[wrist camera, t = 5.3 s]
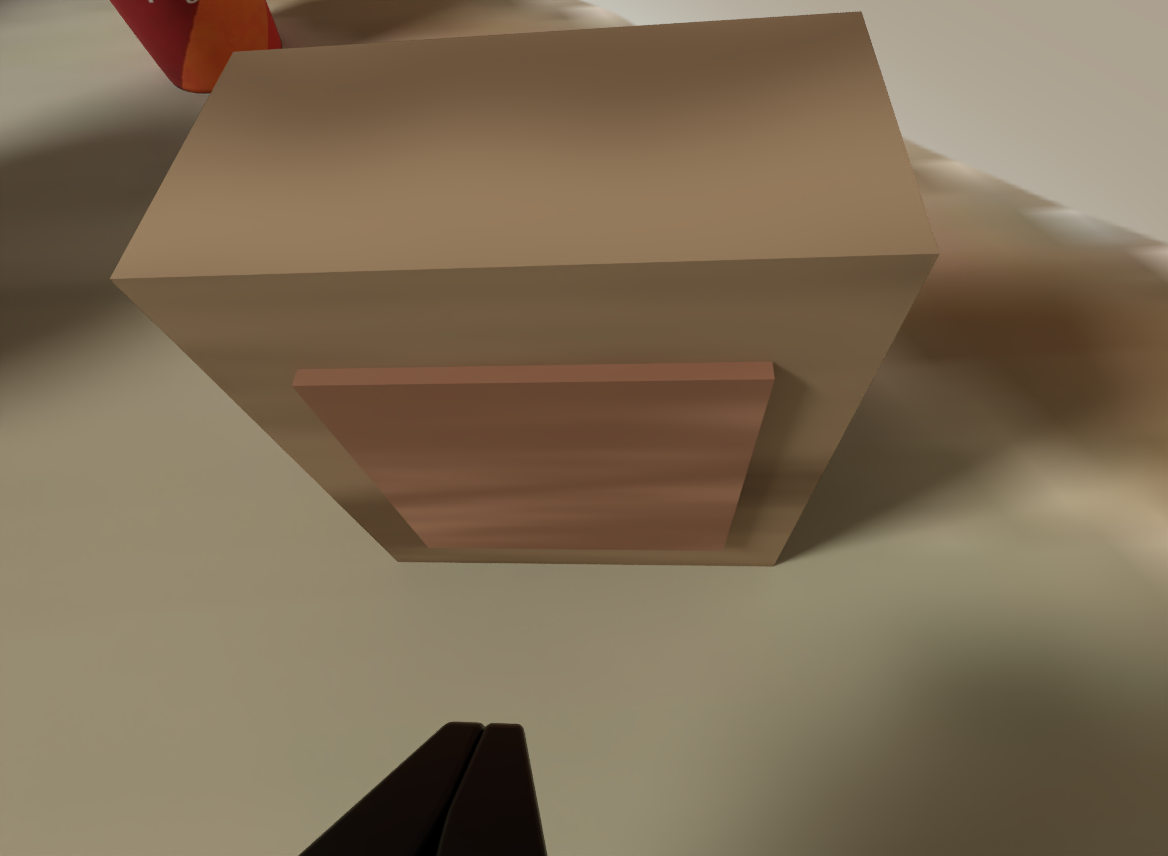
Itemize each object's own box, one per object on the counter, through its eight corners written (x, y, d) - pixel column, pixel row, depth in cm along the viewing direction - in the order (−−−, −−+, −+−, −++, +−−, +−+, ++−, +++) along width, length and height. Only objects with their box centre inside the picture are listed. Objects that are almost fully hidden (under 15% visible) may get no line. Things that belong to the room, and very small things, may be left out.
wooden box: (774, 578, 17) (946, 273, 7) (396, 572, 17) (99, 297, 8) (755, 403, 19) (860, 11, 10) (427, 406, 20) (233, 52, 11)
